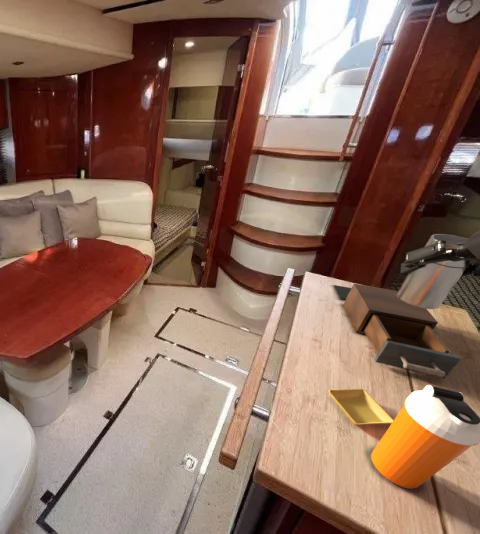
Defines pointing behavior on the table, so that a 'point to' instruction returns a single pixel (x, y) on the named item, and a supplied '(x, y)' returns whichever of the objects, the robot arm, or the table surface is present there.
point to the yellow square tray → (360, 407)
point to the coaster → (342, 292)
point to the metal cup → (433, 278)
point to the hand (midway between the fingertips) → (424, 271)
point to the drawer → (409, 346)
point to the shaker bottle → (426, 436)
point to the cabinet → (381, 307)
